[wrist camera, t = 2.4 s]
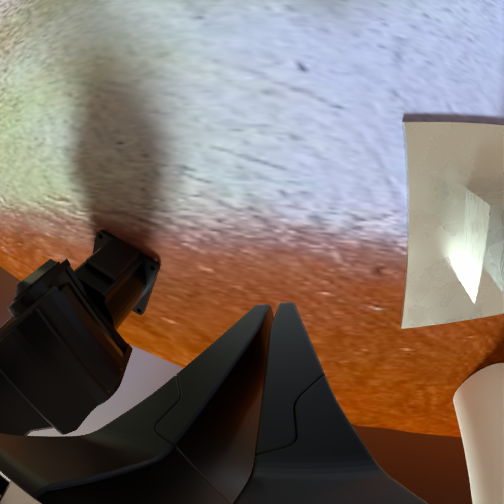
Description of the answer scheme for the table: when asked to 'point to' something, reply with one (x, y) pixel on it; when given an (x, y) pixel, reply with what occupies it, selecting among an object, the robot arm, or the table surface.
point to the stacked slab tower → (453, 222)
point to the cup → (483, 432)
